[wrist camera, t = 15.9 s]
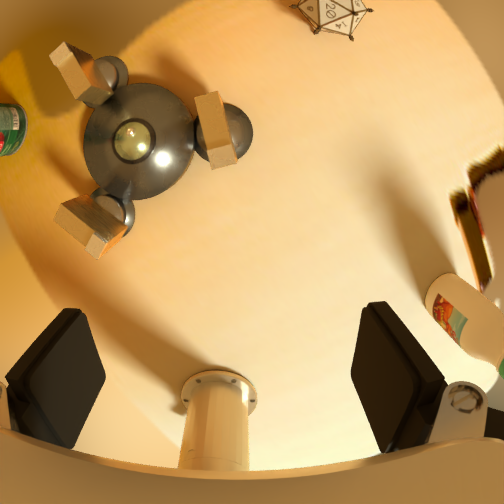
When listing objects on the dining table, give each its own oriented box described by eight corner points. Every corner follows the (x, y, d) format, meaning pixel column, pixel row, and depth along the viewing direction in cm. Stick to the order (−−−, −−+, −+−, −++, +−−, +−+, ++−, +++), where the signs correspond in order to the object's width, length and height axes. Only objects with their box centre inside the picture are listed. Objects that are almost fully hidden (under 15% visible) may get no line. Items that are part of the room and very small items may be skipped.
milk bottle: (436, 267, 40) (521, 337, 21) (466, 276, 41) (545, 339, 22) (416, 311, 42) (485, 393, 23) (447, 317, 43) (514, 389, 24)
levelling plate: (181, 278, 39) (176, 289, 36) (36, 199, 35) (22, 204, 32) (263, 121, 33) (265, 118, 30) (95, 50, 29) (83, 44, 25)
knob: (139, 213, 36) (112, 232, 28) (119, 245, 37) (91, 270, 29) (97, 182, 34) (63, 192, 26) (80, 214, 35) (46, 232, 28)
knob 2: (250, 156, 34) (252, 159, 26) (207, 168, 34) (195, 174, 26) (236, 99, 32) (233, 85, 24) (192, 111, 32) (176, 101, 24)
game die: (330, 36, 32) (376, 57, 27) (274, 25, 29) (315, 41, 24) (345, -17, 26) (396, -6, 20) (288, -35, 23) (335, -33, 17)
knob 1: (75, 76, 29) (39, 65, 21) (105, 50, 28) (74, 32, 21) (97, 114, 31) (62, 108, 23) (129, 87, 30) (100, 74, 23)
